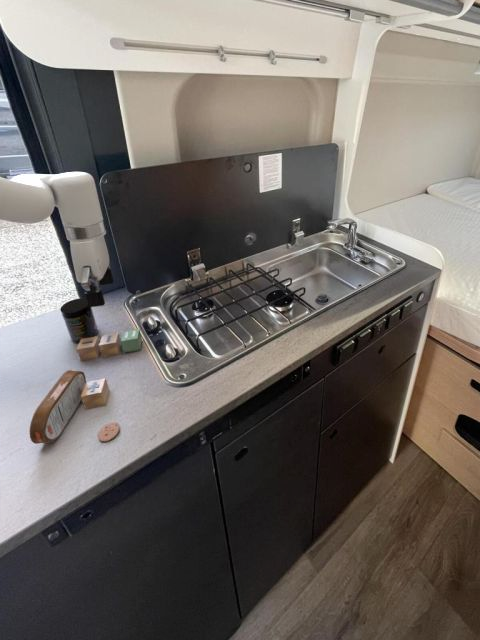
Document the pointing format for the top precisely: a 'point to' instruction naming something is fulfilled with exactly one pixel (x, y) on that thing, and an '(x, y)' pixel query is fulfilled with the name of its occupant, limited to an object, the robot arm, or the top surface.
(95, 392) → the front word
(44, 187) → the robot arm
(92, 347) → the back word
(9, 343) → the top surface
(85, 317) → the supplement container
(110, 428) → the cookie
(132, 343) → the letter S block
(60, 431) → the tin
